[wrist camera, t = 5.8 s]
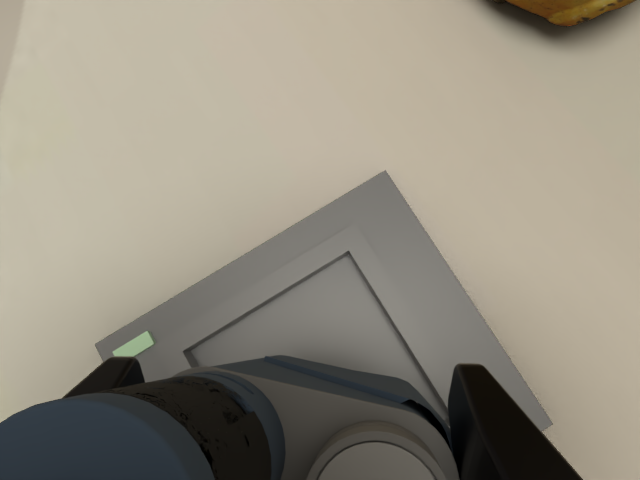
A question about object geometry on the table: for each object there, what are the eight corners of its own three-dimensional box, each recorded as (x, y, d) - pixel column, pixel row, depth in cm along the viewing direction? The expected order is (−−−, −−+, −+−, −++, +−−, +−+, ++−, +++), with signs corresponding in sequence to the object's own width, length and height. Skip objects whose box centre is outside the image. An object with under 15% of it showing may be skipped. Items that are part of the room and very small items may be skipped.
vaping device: (253, 343, 15) (-128, 358, 4) (433, 383, 15) (675, 558, 3) (233, 433, 15) (-275, 779, 3) (417, 478, 14) (628, 1133, 3)
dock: (241, 622, 20) (233, 645, 18) (99, 344, 22) (81, 344, 20) (548, 422, 21) (565, 429, 19) (384, 173, 23) (388, 161, 21)
